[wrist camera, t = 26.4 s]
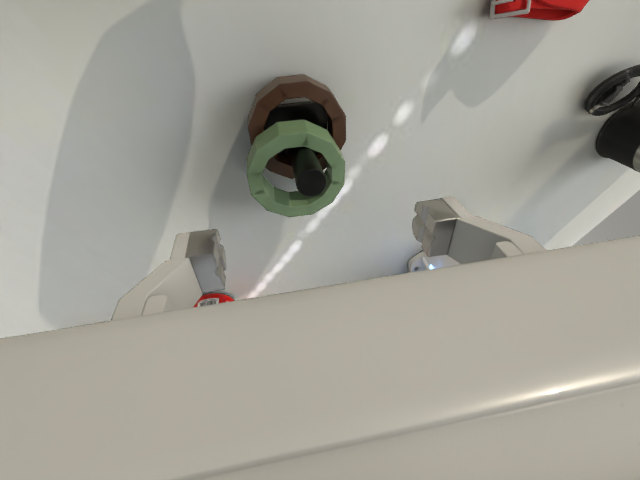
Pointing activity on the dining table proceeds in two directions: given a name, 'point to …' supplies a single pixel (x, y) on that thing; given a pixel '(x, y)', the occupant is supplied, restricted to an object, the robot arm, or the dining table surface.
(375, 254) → the dining table surface
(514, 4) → the tracker holder
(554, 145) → the dining table surface
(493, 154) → the dining table surface
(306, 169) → the rack post
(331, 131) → the walnut ring
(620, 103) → the milk frother
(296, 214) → the green ring
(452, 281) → the robot arm
